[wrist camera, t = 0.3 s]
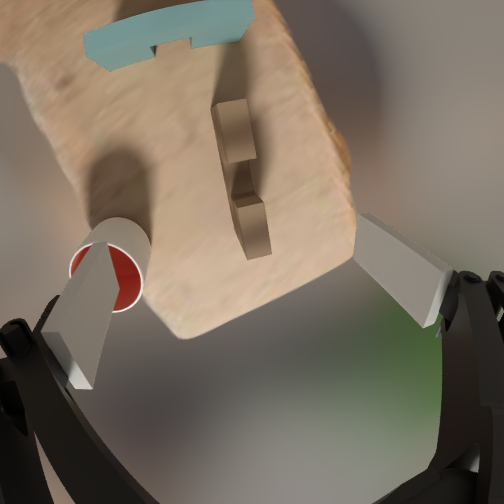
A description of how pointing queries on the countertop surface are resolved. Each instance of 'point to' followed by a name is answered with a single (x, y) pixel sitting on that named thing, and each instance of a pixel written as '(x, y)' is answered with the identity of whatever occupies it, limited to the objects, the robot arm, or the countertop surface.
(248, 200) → the u-notched wood block
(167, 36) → the teal arch piece
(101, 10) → the countertop surface
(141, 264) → the cup
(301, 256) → the countertop surface
